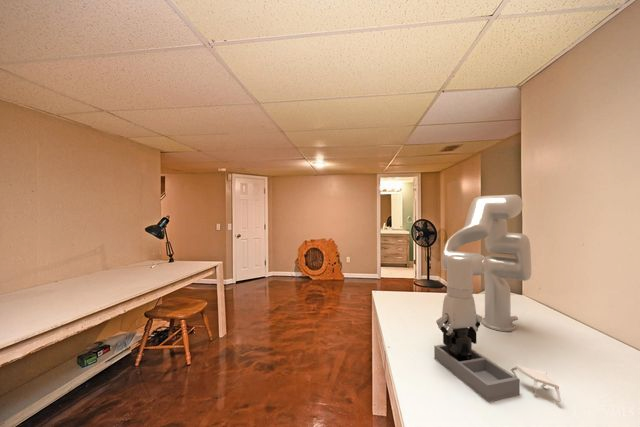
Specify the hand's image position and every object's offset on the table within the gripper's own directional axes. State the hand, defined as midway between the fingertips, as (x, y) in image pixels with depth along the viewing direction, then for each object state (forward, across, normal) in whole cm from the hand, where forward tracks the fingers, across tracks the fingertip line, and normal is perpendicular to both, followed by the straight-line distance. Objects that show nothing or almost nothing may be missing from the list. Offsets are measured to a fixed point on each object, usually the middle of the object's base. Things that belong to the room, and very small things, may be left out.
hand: (459, 343), depth 84 cm
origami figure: (+8, -12, +15) cm, 20 cm away
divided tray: (+7, 0, +5) cm, 9 cm away
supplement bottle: (+6, 0, 0) cm, 7 cm away
